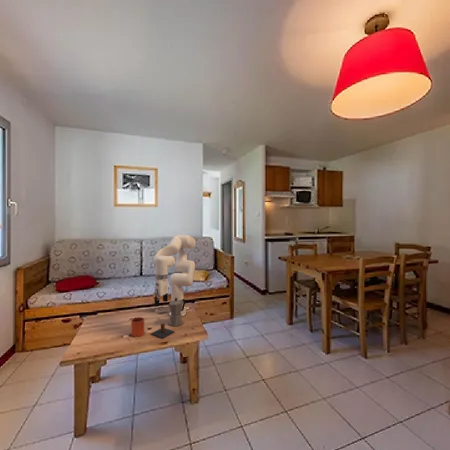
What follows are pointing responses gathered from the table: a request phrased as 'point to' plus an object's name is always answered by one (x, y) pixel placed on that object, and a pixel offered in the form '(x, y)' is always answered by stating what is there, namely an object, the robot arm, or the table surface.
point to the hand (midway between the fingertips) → (161, 303)
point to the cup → (137, 326)
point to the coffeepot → (176, 312)
